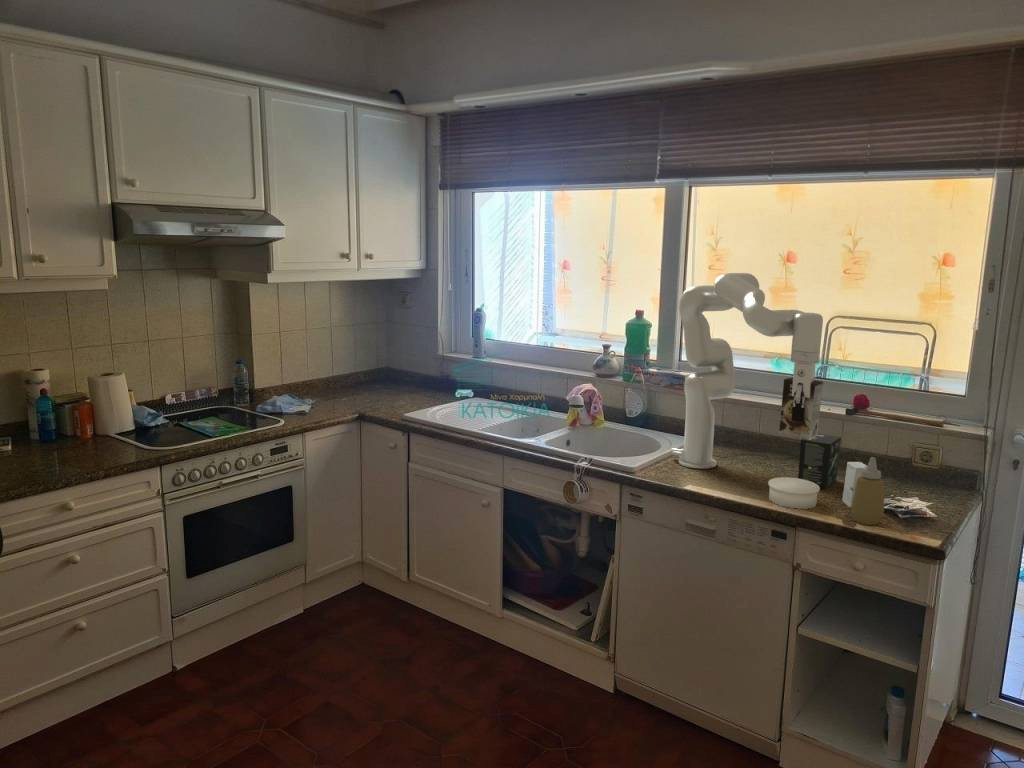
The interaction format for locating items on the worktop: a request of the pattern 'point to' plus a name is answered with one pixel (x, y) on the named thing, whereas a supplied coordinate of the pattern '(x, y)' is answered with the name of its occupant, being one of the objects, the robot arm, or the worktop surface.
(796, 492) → the podium
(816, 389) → the coffee box
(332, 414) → the worktop surface
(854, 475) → the skincare box
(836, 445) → the tampon box
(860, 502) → the squeeze bottle
